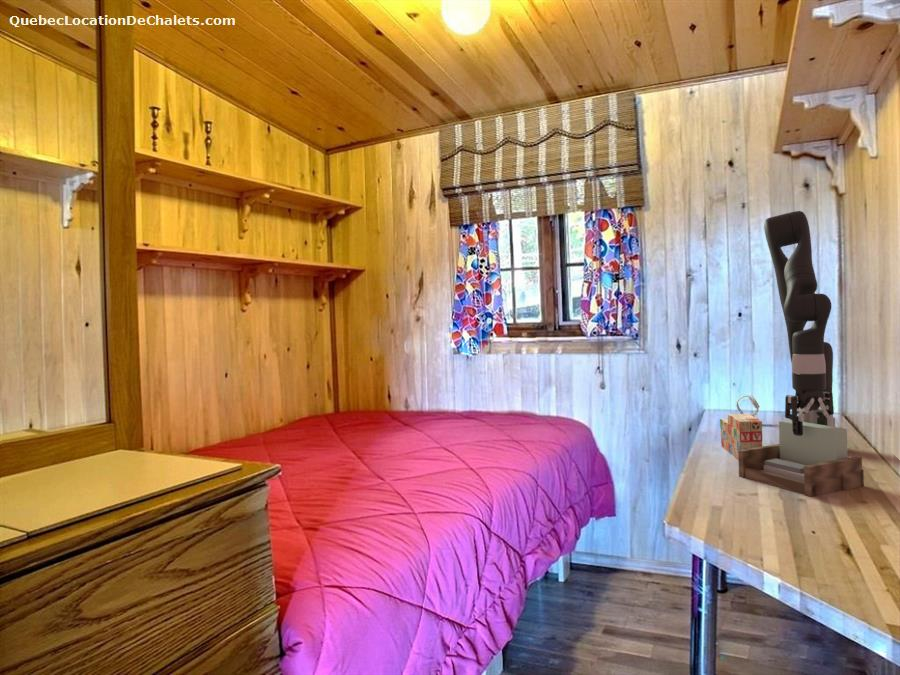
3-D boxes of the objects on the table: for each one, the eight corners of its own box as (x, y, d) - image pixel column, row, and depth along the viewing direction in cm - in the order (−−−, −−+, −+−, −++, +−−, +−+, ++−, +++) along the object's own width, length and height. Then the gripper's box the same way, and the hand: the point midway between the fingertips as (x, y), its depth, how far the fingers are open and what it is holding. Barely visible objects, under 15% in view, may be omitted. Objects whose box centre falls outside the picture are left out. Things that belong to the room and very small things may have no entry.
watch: (760, 425, 225) (759, 396, 224) (737, 425, 228) (736, 396, 228) (759, 423, 230) (758, 394, 229) (736, 422, 233) (735, 394, 233)
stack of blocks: (720, 446, 195) (719, 409, 195) (741, 446, 194) (739, 408, 194) (740, 462, 174) (739, 420, 174) (763, 462, 173) (762, 420, 173)
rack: (788, 467, 166) (787, 442, 166) (863, 485, 146) (863, 457, 146) (739, 476, 160) (738, 450, 160) (810, 496, 140) (809, 467, 140)
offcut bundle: (772, 475, 160) (772, 457, 160) (825, 489, 146) (824, 469, 146) (758, 478, 158) (758, 459, 158) (810, 492, 144) (809, 472, 144)
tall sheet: (791, 470, 163) (789, 419, 163) (848, 484, 148) (846, 428, 148) (780, 472, 162) (778, 421, 161) (836, 487, 147) (835, 430, 146)
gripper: (815, 368, 160) (816, 428, 160) (775, 372, 155) (777, 434, 156) (842, 370, 153) (843, 433, 153) (801, 374, 148) (802, 438, 149)
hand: (810, 433), depth 154 cm, fingers open, 8 cm apart
